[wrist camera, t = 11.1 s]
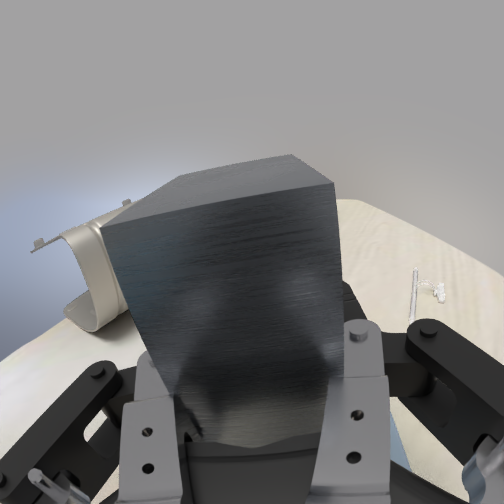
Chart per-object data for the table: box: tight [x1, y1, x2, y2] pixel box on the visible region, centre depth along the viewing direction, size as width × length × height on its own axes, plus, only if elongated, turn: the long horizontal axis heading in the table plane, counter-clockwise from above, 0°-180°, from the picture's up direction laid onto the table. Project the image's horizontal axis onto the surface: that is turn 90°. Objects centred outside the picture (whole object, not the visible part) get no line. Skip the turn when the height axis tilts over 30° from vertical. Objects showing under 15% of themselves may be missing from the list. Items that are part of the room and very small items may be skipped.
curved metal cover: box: [31, 198, 143, 332], centre depth 46 cm, size 26×24×16 cm
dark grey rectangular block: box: [99, 154, 344, 448], centre depth 10 cm, size 4×6×12 cm, turn 179°
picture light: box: [409, 267, 445, 325], centre depth 33 cm, size 14×4×2 cm, turn 151°
